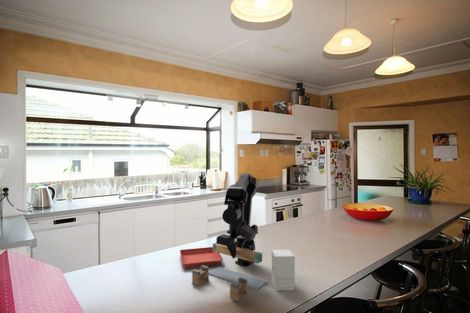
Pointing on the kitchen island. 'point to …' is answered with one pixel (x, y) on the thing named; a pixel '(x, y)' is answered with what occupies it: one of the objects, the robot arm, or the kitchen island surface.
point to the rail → (239, 253)
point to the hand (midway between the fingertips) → (236, 256)
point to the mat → (233, 277)
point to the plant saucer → (200, 257)
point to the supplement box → (283, 270)
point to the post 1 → (200, 275)
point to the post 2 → (238, 289)
